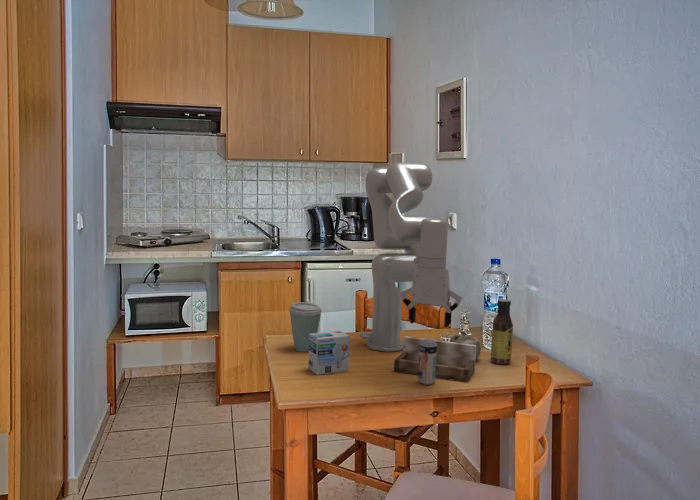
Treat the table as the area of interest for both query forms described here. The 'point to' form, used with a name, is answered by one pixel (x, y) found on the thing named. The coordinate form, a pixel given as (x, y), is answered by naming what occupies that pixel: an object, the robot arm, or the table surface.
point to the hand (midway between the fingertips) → (429, 324)
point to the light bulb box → (328, 352)
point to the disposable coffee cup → (304, 323)
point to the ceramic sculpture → (466, 341)
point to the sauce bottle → (502, 334)
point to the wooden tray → (439, 359)
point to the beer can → (427, 361)
